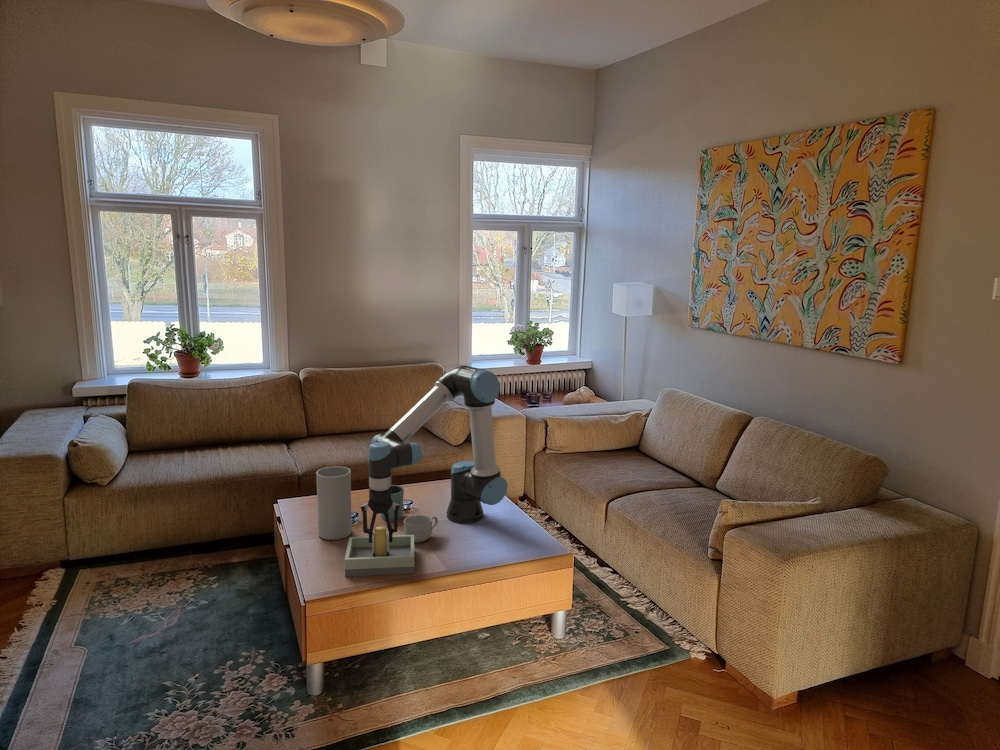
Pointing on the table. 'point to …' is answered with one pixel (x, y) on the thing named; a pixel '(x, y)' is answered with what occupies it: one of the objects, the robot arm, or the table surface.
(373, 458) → the robot arm
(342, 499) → the cylinder vase
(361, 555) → the box
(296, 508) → the table surface
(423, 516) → the teacup
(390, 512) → the grey-green cup
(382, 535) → the peg
